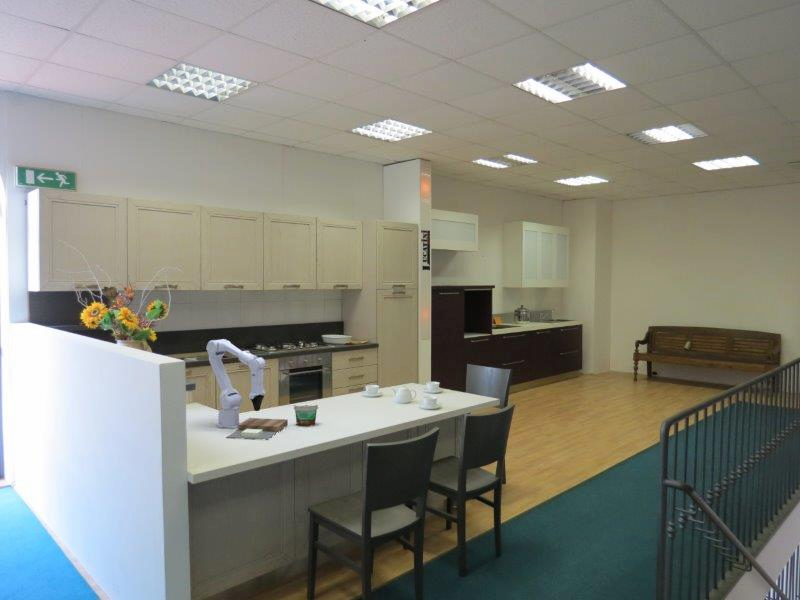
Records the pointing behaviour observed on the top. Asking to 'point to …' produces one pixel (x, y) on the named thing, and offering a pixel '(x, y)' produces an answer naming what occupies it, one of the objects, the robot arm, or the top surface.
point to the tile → (251, 433)
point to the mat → (264, 436)
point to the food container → (305, 415)
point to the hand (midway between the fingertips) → (257, 410)
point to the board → (263, 424)
